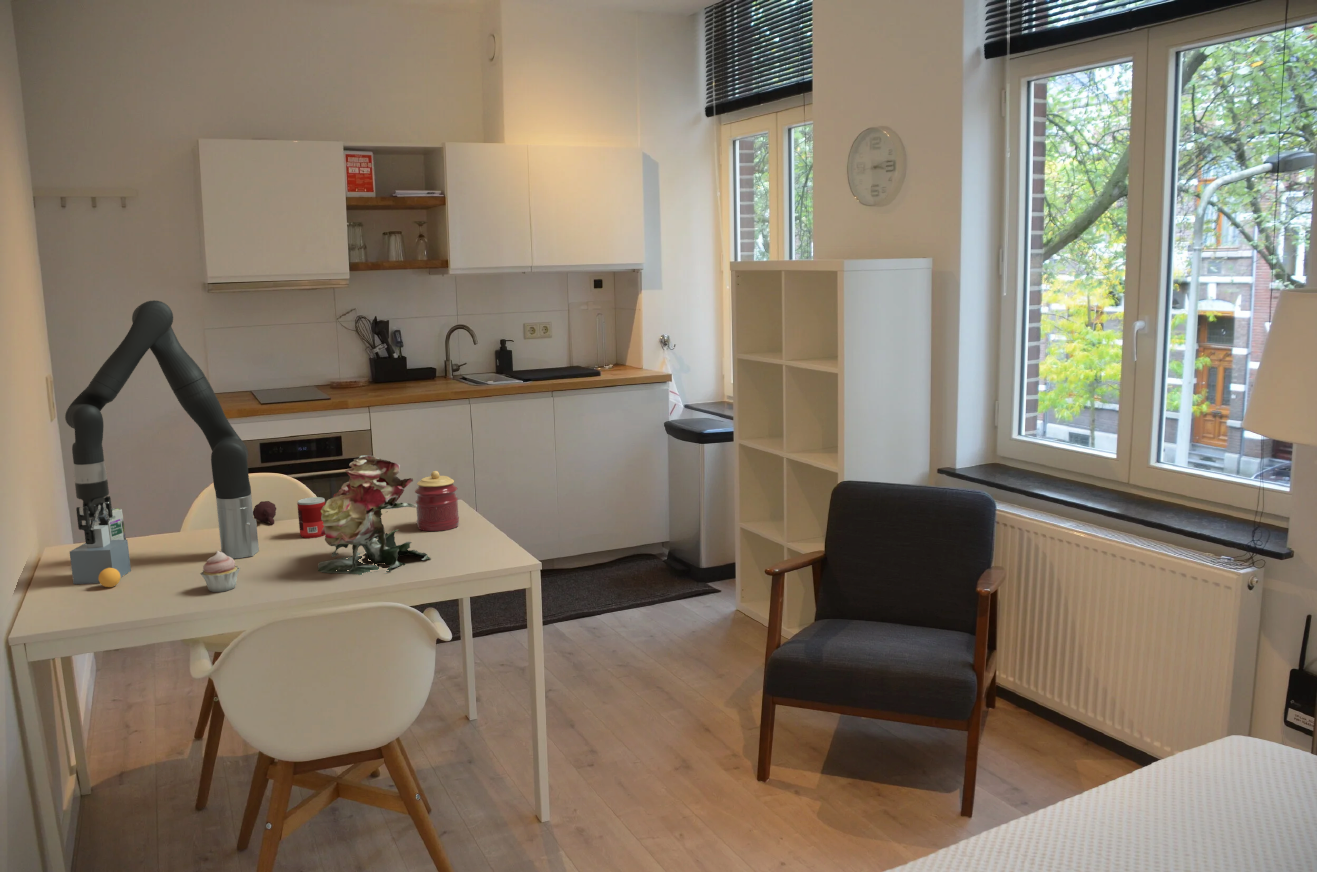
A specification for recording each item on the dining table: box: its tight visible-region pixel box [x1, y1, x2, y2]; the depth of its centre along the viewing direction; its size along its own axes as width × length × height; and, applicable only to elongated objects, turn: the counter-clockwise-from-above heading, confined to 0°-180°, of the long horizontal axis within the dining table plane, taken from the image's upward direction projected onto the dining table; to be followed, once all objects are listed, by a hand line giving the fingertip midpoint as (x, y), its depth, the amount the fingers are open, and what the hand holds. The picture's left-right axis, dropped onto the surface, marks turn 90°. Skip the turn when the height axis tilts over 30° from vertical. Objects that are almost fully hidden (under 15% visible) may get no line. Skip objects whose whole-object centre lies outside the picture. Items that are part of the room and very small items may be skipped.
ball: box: [99, 568, 122, 588], centre depth 260 cm, size 5×5×5 cm
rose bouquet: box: [317, 454, 431, 576], centre depth 273 cm, size 26×29×30 cm
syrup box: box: [94, 507, 127, 540], centre depth 284 cm, size 6×6×14 cm
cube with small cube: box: [69, 525, 132, 585], centre depth 268 cm, size 10×10×14 cm
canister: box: [414, 470, 460, 532], centre depth 313 cm, size 13×13×18 cm
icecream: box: [253, 500, 277, 526], centre depth 326 cm, size 7×7×15 cm
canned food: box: [296, 496, 326, 539], centre depth 307 cm, size 8×8×11 cm
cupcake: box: [199, 550, 241, 593], centre depth 256 cm, size 9×9×10 cm
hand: (98, 539), depth 267 cm, fingers open, 7 cm apart
